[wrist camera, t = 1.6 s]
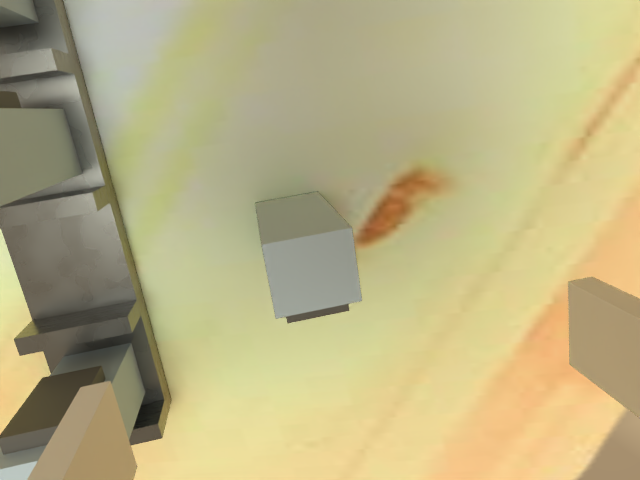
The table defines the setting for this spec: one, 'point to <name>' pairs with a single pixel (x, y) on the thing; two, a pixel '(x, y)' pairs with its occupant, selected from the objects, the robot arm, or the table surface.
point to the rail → (74, 226)
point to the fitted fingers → (72, 371)
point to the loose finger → (307, 257)
